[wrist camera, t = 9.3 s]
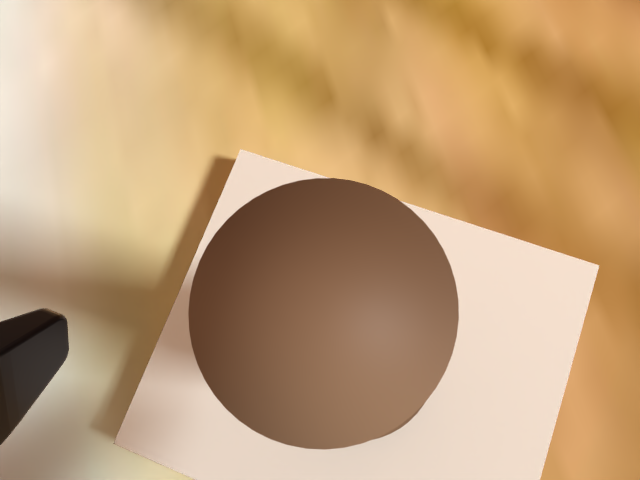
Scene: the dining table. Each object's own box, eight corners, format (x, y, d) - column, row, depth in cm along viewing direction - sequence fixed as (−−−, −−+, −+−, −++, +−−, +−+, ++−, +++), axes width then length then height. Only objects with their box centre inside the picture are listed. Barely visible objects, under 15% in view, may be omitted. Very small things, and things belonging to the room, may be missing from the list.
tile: (494, 600, 18) (502, 615, 17) (128, 440, 20) (113, 443, 19) (586, 272, 20) (599, 265, 19) (247, 161, 22) (240, 149, 21)
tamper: (403, 461, 18) (463, 619, 6) (257, 402, 19) (45, 433, 7) (452, 311, 19) (589, 180, 7) (311, 262, 20) (212, 67, 8)
